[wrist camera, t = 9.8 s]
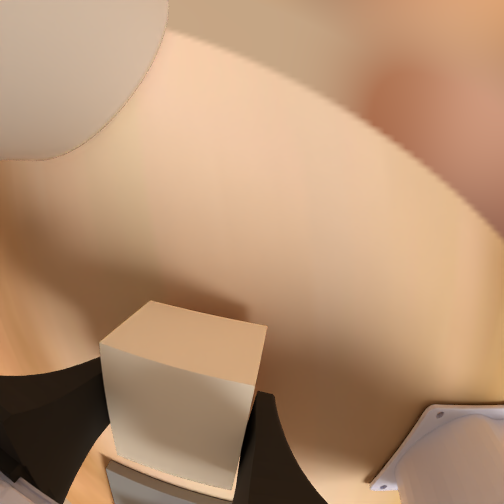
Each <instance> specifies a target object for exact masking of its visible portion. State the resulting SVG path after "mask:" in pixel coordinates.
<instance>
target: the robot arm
mask: <svg viewBox="0 0 504 504" xmlns="http://www.w3.org/2000/svg"><path fill="white" fill-rule="evenodd" d="M439 412H440V413H439ZM109 424H110V418H109V413H108V407H107V401H106V395H105V388H104V381H103V374H102V366H101V357H98V358H96V359H93V360H90V361H88V362H85V363H82V364H79V365H76V366H73V367H70V368H67V369H63V370H59V371H55V372H50V373H44V374H36V375H27V376H0V504H63V503H64V500H65V498H66V496H67V493H68V491H69V489H70V486H71V484H72V482H73V480H74V478H75V476H76V474H77V472H78V470H79V469H80V467H81V465H82V463H83V461H84V460H85V458H86V456H87V454H88V453H89V451H90V449H91V448H92V446H93V444H94V443H95V441H96V440H97V439H98V437H99V436H100V435H101V434H102V432H103V431H104V430H105V429H106V427H107V426H108V425H109ZM369 486H370V490H373V491H381V490H398V491H399V495H400V499H401V503H402V504H504V405H439V404H434V405H431V406H429V407H427V408H426V410H425V411H424V412H423V414H422V415H421V417H420V418H419V420H418V422H417V423H416V424H415V426H414V427H413V429H412V430H411V432H410V433H409V435H408V436H407V438H406V439H405V440H404V442H403V443H402V444H401V446H400V447H399V448H398V450H397V451H396V452H395V454H394V455H393V456H392V458H391V459H390V460H389V461H388V463H387V464H386V465H385V466H384V468H383V469H382V470H381V471H380V473H379V474H378V475H377V476H376V477H375V478H374V480H373V481H372V482H371V483H370V485H369ZM232 504H328V503H327V502H326V501H325V500H324V499H323V498H322V497H321V495H320V494H319V493H318V492H317V491H316V489H315V488H314V487H313V485H312V484H311V483H310V481H309V480H308V479H307V477H306V476H305V474H304V473H303V471H302V470H301V468H300V466H299V465H298V463H297V461H296V459H295V457H294V455H293V453H292V451H291V449H290V447H289V445H288V442H287V440H286V437H285V435H284V432H283V429H282V426H281V423H280V420H279V417H278V413H277V409H276V404H275V397H274V396H273V394H269V393H265V392H260V391H258V392H257V395H256V398H255V401H254V404H253V407H252V410H251V414H250V417H249V420H248V423H247V426H246V431H245V435H244V439H243V444H242V448H241V454H240V461H239V469H238V476H237V483H236V489H235V494H234V498H233V502H232Z"/></svg>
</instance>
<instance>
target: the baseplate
mask: <svg viewBox="0 0 504 504" xmlns="http://www.w3.org/2000/svg"><path fill="white" fill-rule="evenodd" d="M106 472H107V476H108V480H109V484H110V488H111V492H112V495H113V499H114V502H115V504H232V502H229V501H225V500H221V499H217V498H213V497H209V496H206V495H202V494H199V493H195V492H192V491H189V490H185V489H182V488H179V487H176V486H173V485H170V484H168V483H165V482H162V481H159V480H157V479H154V478H151V477H149V476H146V475H144V474H141V473H139V472H136V471H134V470H132V469H129V468H127V467H125V466H123V465H120V464H118V463H116V462H114V461H112V460H111V461H110V463H109V464H108V466H107V467H106Z"/></svg>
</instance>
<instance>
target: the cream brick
mask: <svg viewBox="0 0 504 504" xmlns="http://www.w3.org/2000/svg"><path fill="white" fill-rule="evenodd" d="M266 331H267V326H265V325H260V324H254V323H249V322H244V321H239V320H234V319H229V318H224V317H220V316H215V315H210V314H206V313H201V312H197V311H193V310H188V309H184V308H180V307H176V306H171V305H167V304H163V303H159V302H155V301H151V300H150V301H149V302H148V303H146V304H145V305H144V306H143V307H142V308H140V309H139V310H138V311H137V312H135V313H134V314H133V315H132V316H130V317H129V318H128V319H127V320H126V321H124V322H123V323H122V324H121V325H120V326H118V327H117V328H116V329H115V330H113V331H112V332H111V333H110V334H109V335H107V336H106V337H105V338H104V339H103V340H101V341H100V342H99V347H100V357H101V366H102V374H103V381H104V388H105V395H106V401H107V407H108V413H109V418H110V423H111V428H112V433H113V438H114V442H115V446H116V451H117V455H119V456H121V457H124V458H126V459H129V460H131V461H134V462H136V463H139V464H141V465H144V466H147V467H150V468H152V469H155V470H158V471H161V472H164V473H167V474H170V475H174V476H177V477H180V478H184V479H187V480H191V481H194V482H198V483H202V484H206V485H210V486H214V487H218V488H223V489H228V490H232V486H233V482H234V478H235V474H236V470H237V466H238V461H239V457H240V453H241V448H242V444H243V439H244V435H245V431H246V426H247V423H248V418H249V413H250V409H251V404H252V400H253V395H254V390H255V385H256V381H257V376H258V371H259V366H260V361H261V356H262V351H263V346H264V341H265V336H266Z"/></svg>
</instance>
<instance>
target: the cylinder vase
mask: <svg viewBox="0 0 504 504" xmlns="http://www.w3.org/2000/svg"><path fill="white" fill-rule="evenodd" d="M168 8H169V2H168V0H0V160H32V161H40V160H48V159H52V158H56V157H59V156H61V155H64V154H66V153H68V152H70V151H72V150H74V149H76V148H78V147H79V146H81V145H82V144H84V143H85V142H87V141H88V140H89V139H91V138H92V137H93V136H94V135H96V134H97V133H98V132H99V131H100V130H101V129H103V128H104V127H105V126H106V125H107V124H108V123H109V122H110V121H111V120H112V119H113V118H114V117H115V116H116V115H117V113H118V112H119V111H120V110H121V109H122V108H123V107H124V105H125V104H126V103H127V102H128V100H129V99H130V98H131V96H132V95H133V94H134V92H135V91H136V89H137V88H138V87H139V85H140V83H141V82H142V80H143V79H144V77H145V75H146V74H147V72H148V70H149V68H150V67H151V65H152V63H153V61H154V59H155V57H156V55H157V52H158V50H159V47H160V45H161V42H162V39H163V36H164V33H165V29H166V25H167V20H168V10H169V9H168Z"/></svg>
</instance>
